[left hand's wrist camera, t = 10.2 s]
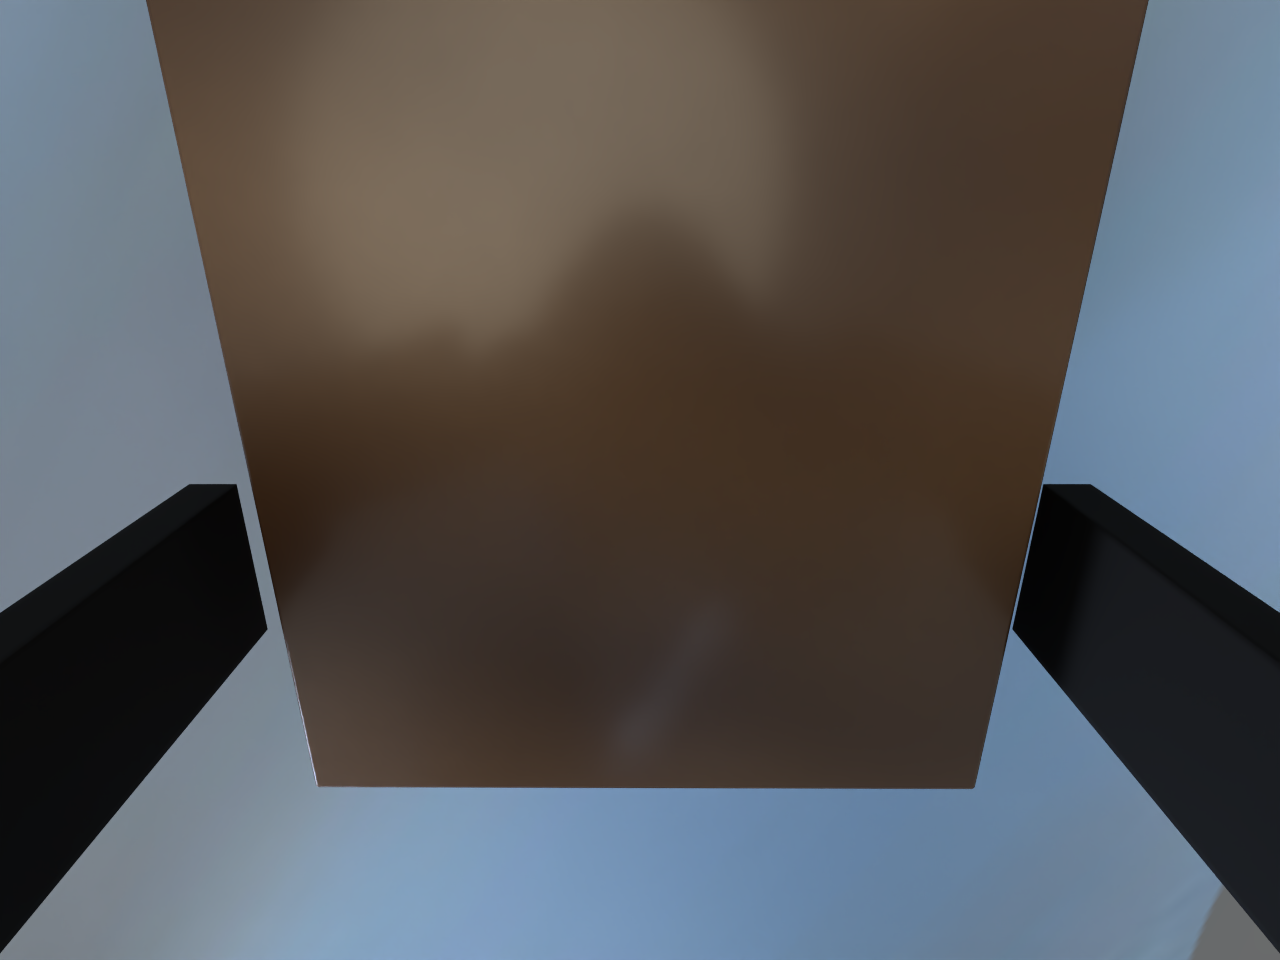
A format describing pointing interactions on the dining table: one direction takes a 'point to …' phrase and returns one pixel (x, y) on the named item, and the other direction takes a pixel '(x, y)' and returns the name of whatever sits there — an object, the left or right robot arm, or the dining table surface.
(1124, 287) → the dining table surface
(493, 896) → the dining table surface
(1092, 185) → the wooden drawer box
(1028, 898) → the dining table surface
